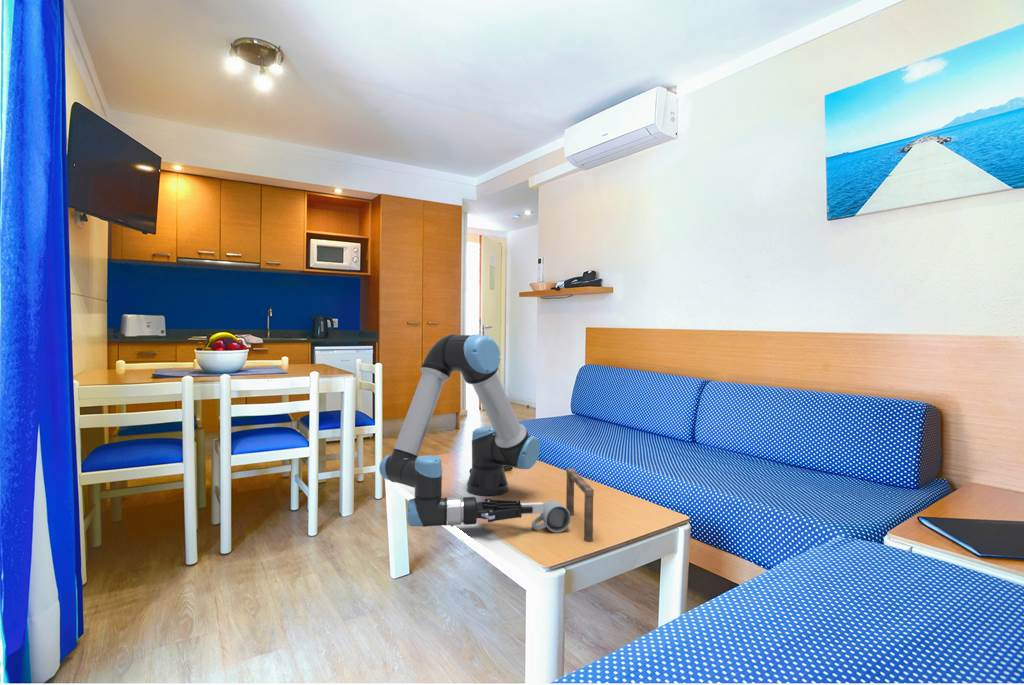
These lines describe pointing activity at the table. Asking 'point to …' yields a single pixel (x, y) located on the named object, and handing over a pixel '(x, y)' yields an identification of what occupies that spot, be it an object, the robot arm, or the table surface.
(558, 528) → the ceramic mug
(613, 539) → the table surface
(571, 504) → the walnut gate
